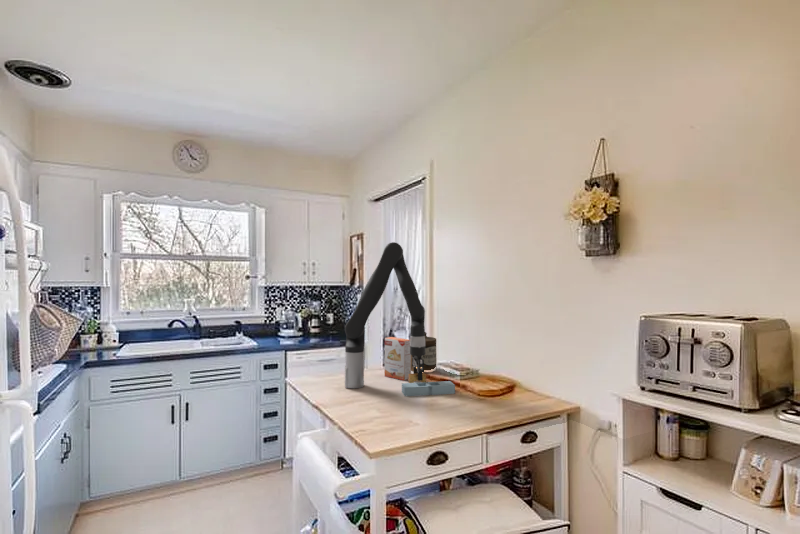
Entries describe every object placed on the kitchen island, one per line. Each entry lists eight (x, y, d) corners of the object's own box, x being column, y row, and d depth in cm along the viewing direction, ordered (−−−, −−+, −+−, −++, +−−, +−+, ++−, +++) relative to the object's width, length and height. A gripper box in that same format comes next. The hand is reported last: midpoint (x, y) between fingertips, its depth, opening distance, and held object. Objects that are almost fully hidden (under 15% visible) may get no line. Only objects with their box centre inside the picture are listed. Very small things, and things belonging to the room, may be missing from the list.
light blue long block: (404, 396, 193) (404, 387, 193) (401, 391, 200) (401, 383, 200) (454, 393, 198) (455, 385, 198) (450, 389, 205) (450, 381, 205)
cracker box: (383, 376, 228) (384, 337, 228) (391, 374, 233) (391, 336, 233) (403, 381, 219) (404, 340, 219) (411, 378, 224) (411, 339, 224)
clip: (409, 388, 206) (409, 375, 206) (408, 386, 209) (408, 373, 209) (425, 387, 207) (425, 374, 207) (424, 386, 210) (424, 373, 210)
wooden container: (425, 374, 233) (425, 334, 233) (405, 370, 243) (405, 331, 243) (441, 370, 244) (441, 331, 244) (421, 365, 254) (422, 329, 254)
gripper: (407, 342, 214) (407, 374, 214) (413, 348, 200) (413, 382, 200) (421, 342, 216) (421, 374, 216) (428, 347, 202) (429, 381, 202)
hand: (417, 377), depth 208 cm, fingers open, 8 cm apart
